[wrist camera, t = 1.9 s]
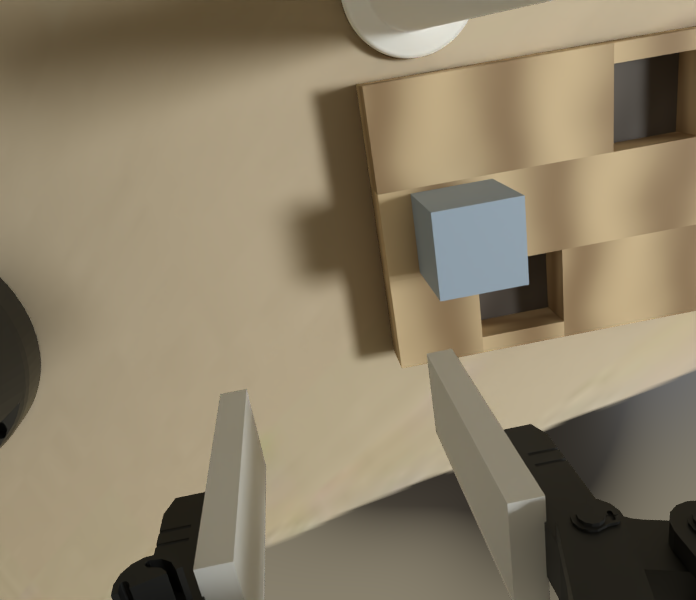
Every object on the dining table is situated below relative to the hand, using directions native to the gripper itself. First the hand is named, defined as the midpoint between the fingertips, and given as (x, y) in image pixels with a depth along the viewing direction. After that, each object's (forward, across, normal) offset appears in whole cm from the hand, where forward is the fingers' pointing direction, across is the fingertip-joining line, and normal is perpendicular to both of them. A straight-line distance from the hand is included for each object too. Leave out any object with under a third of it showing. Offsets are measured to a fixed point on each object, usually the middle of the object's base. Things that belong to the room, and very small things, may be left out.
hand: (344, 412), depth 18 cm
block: (+16, +8, 0) cm, 18 cm away
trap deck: (+19, +16, 0) cm, 25 cm away
